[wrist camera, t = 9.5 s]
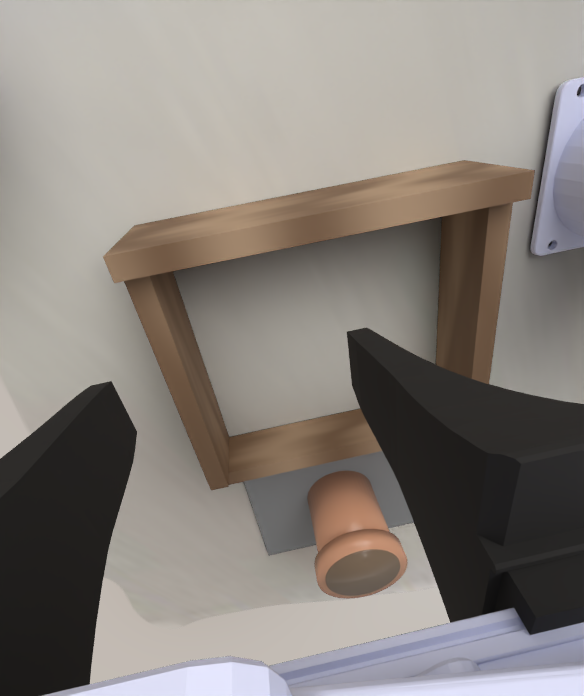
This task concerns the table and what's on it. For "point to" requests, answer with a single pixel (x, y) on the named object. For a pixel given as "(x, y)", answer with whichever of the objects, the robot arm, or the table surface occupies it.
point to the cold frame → (308, 227)
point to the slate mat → (292, 505)
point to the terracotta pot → (352, 537)
